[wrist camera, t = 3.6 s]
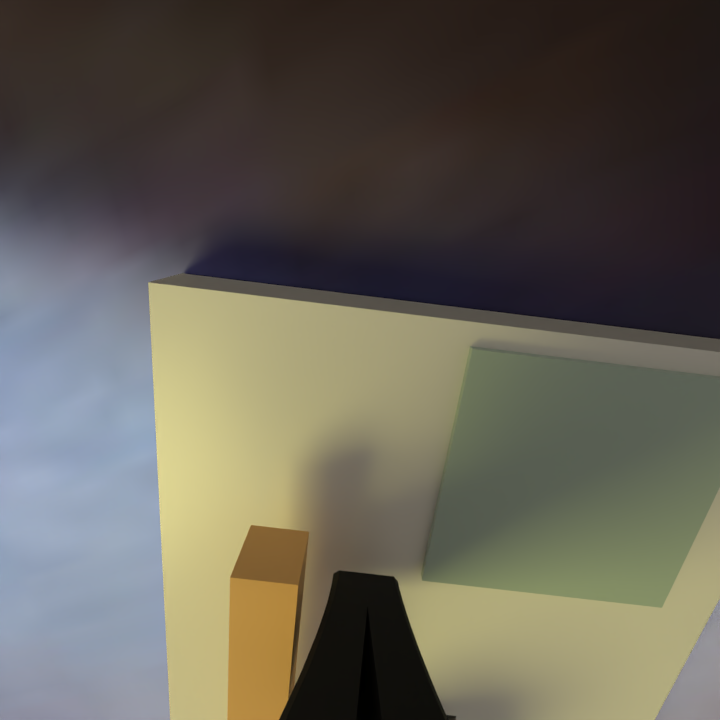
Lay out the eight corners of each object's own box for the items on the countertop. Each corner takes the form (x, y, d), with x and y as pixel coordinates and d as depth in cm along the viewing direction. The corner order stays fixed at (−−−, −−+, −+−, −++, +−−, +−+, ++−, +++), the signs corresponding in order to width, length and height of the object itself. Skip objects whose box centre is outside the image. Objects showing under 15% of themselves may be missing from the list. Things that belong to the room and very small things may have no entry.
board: (773, 346, 10) (894, 383, 7) (534, 855, 17) (560, 952, 14) (182, 273, 9) (123, 289, 7) (195, 819, 16) (167, 912, 14)
